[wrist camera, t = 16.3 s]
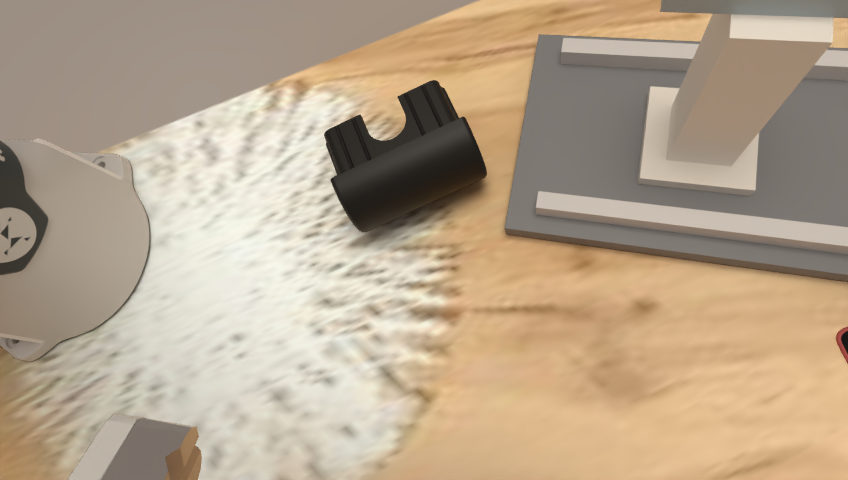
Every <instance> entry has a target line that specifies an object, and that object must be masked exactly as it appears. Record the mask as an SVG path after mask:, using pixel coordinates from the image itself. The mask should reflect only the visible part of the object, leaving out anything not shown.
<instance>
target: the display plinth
mask: <svg viewBox="0 0 848 480" xmlns="http://www.w3.org/2000/svg"><path fill="white" fill-rule="evenodd" d="M699 44H700V42H695V41H673V40H651V39H629V38H607V37H585V36H563V35H540V34H539V36H538V42H537V48H536V53H535V59H534V65H533V70H532V76H531V82H530V87H529V93H528V99H527V104H526V110H525V116H524V121H523V127H522V133H521V138H520V144H519V150H518V155H517V161H516V167H515V172H514V178H513V184H512V190H511V195H510V201H509V207H508V212H507V218H506V224H505V232H506V234H508V235H515V236H522V237H530V238H537V239H544V240H551V241H558V242H566V243H573V244H580V245H587V246H594V247H602V248H609V249H616V250H623V251H630V252H637V253H645V254H652V255H659V256H666V257H673V258H681V259H688V260H695V261H702V262H709V263H717V264H724V265H731V266H738V267H745V268H752V269H760V270H767V271H774V272H781V273H788V274H796V275H803V276H810V277H817V278H824V279H832V280H839V281H846V282H848V48H828V49H827V50H826V51H825V52H824V54H823V55H822V56H821V57H820V59H819V60H818V61H817V62H816V63H815V65H814V66H813V67H812V68H811V70H810V71H809V72H808V73H807V74H806V76H805V77H804V78H803V79H802V81H801V82H800V83H799V84H798V85H797V87H796V88H795V89H794V90H793V92H792V93H791V94H790V95H789V96H788V98H787V99H786V100H785V101H784V103H783V104H782V105H781V106H780V107H779V109H778V110H777V111H776V112H775V114H774V115H773V116H772V117H771V118H770V120H769V121H768V122H767V123H766V125H765V126H764V127H763V128H762V129H761V131H760V132H759V141H758V157H757V174H756V190H755V191H754V192H753V193H752V194H751V195H750V196H745V195H736V194H727V193H718V192H709V191H699V190H690V189H681V188H672V187H663V186H654V185H645V184H637V182H638V173H639V165H640V156H641V148H642V139H643V131H644V122H645V113H646V105H647V96H648V92H649V89H650V86H653V87H668V88H680V86H681V84H682V82H683V80H684V78H685V75H686V73H687V71H688V69H689V66H690V64H691V62H692V60H693V57H694V55H695V53H696V51H697V48H698V46H699Z"/></svg>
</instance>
